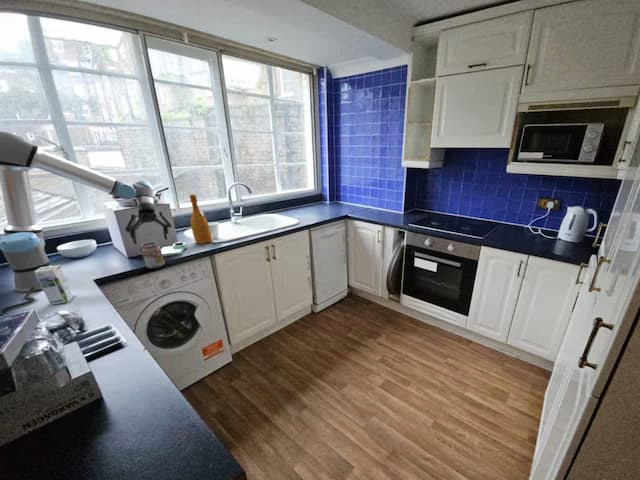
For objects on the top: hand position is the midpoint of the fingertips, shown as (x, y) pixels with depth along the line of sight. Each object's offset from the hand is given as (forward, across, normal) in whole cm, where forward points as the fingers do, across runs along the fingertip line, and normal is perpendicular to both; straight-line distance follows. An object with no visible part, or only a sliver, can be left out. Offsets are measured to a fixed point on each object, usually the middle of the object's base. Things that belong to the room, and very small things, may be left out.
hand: (150, 240), depth 152 cm
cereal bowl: (-16, +42, -34) cm, 56 cm away
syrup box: (+31, +30, +14) cm, 45 cm away
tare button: (-7, -10, -20) cm, 23 cm away
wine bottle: (-10, -22, -28) cm, 37 cm away
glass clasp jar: (+14, 0, -4) cm, 14 cm away
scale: (-2, -6, -19) cm, 20 cm away
